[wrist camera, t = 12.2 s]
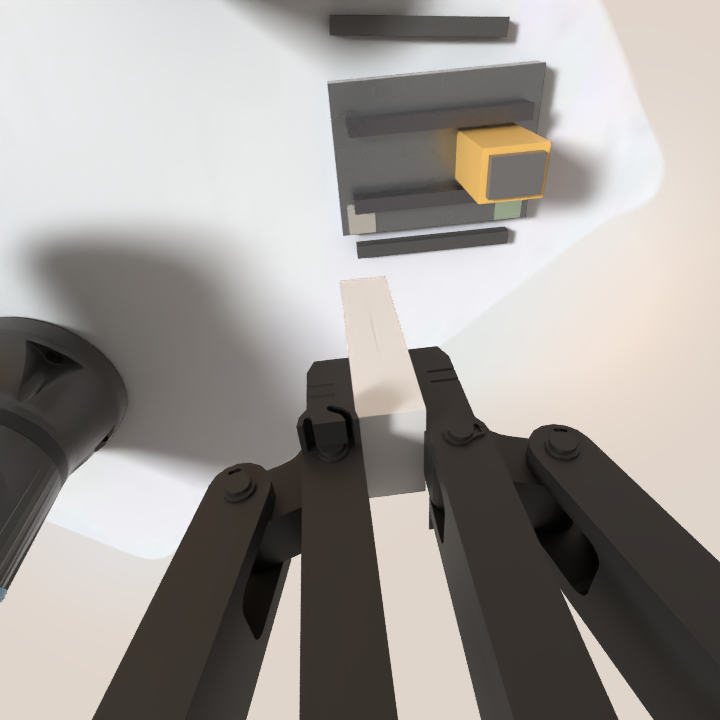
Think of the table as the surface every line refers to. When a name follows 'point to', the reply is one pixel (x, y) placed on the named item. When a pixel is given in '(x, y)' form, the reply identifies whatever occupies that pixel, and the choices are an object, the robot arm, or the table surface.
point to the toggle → (501, 163)
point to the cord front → (418, 25)
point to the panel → (422, 142)
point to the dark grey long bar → (432, 242)
